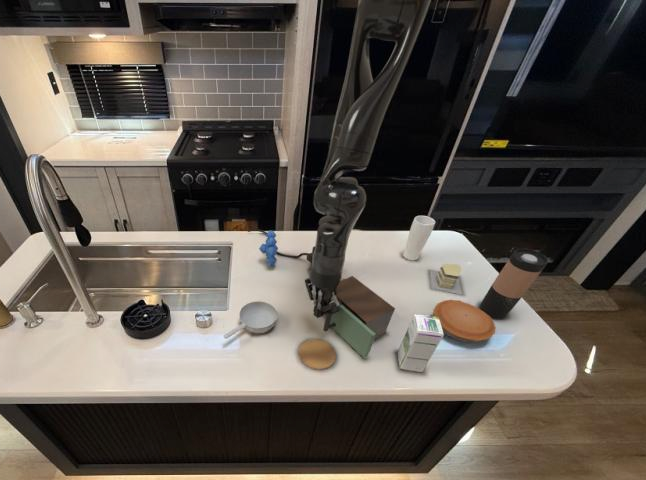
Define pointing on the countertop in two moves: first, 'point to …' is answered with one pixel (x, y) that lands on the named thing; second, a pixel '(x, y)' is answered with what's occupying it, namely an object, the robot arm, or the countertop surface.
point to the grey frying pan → (256, 318)
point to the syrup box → (419, 342)
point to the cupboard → (364, 305)
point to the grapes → (270, 248)
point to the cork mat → (317, 354)
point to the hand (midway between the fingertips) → (318, 315)
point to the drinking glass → (418, 236)
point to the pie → (464, 321)
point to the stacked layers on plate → (447, 278)
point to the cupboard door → (350, 329)
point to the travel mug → (513, 282)
